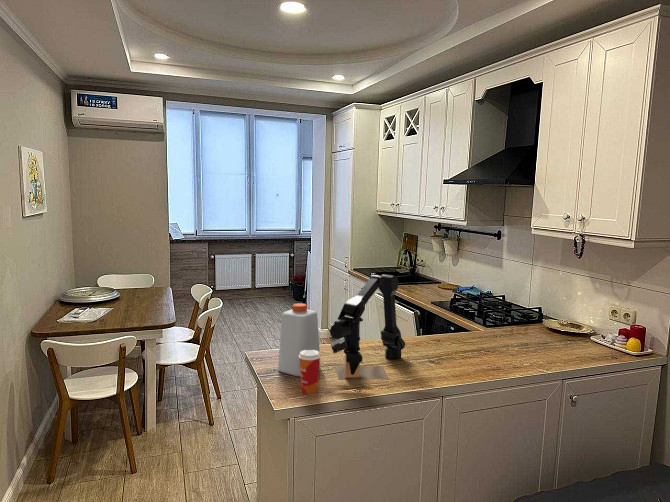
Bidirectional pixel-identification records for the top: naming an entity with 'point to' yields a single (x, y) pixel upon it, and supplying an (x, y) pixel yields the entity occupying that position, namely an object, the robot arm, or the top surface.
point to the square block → (347, 370)
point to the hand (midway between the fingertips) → (351, 371)
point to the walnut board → (365, 373)
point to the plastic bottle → (297, 337)
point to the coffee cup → (309, 371)
